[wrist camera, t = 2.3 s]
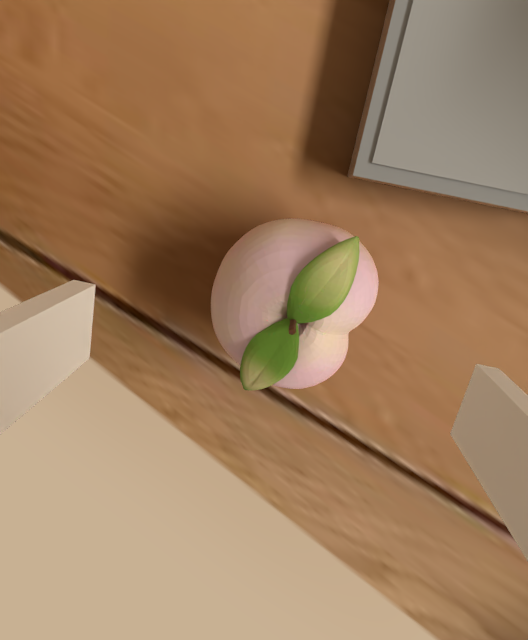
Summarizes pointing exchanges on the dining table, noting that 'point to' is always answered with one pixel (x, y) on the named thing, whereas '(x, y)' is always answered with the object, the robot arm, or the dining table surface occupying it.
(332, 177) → the dining table surface
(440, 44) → the slate trivet
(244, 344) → the decorative fruit
